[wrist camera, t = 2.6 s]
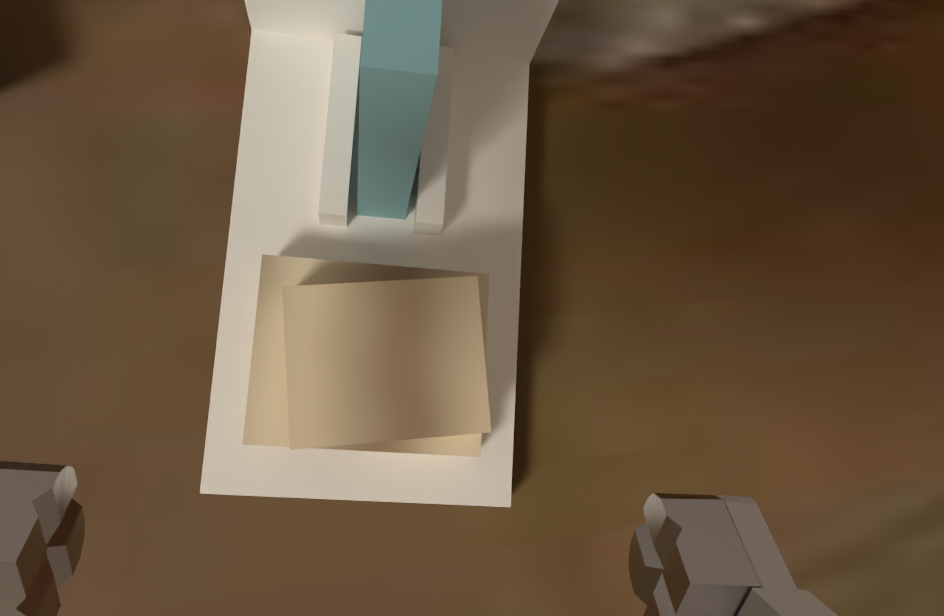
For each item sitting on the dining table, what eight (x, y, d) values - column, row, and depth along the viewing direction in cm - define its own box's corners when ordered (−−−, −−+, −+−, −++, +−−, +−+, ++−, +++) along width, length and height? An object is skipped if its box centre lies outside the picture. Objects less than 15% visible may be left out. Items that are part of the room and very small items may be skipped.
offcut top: (294, 449, 26) (289, 449, 24) (286, 296, 27) (282, 286, 25) (482, 433, 27) (491, 432, 26) (469, 286, 28) (477, 276, 26)
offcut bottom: (249, 444, 28) (242, 444, 26) (267, 266, 29) (262, 254, 27) (472, 456, 29) (480, 457, 27) (481, 283, 30) (489, 273, 28)
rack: (207, 490, 29) (57, 537, 14) (260, 15, 32) (182, -343, 18) (502, 504, 30) (643, 558, 16) (523, 48, 34) (653, -257, 19)
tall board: (357, 215, 30) (359, 66, 18) (369, 68, 31) (379, -162, 19) (404, 219, 30) (437, 75, 18) (414, 73, 31) (452, -151, 19)
